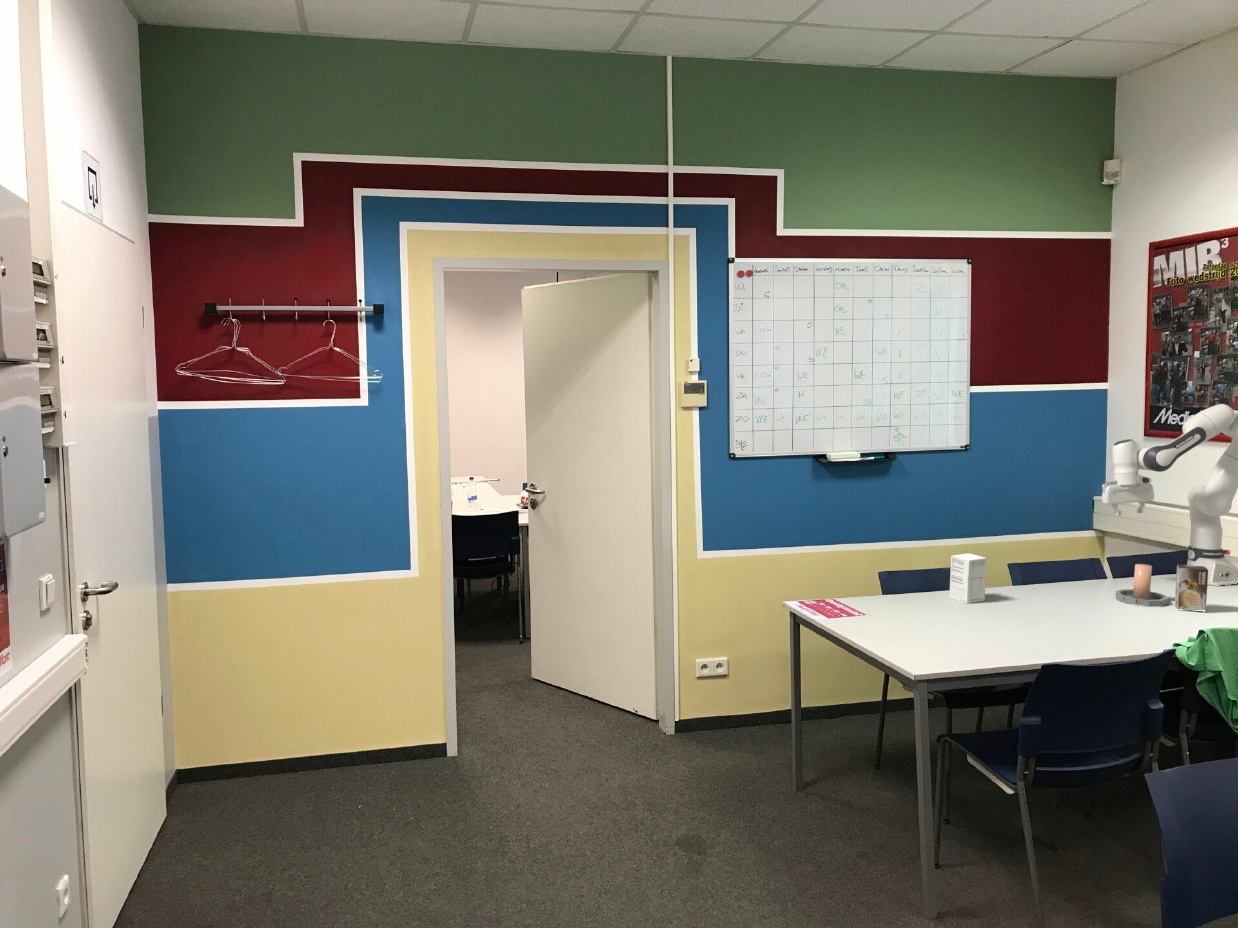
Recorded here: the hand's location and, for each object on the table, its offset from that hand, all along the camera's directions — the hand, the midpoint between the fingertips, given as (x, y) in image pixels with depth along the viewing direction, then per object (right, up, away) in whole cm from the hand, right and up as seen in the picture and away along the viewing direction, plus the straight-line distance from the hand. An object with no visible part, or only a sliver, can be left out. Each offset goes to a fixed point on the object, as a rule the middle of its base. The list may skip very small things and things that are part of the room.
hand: (1129, 514), depth 370 cm
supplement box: (-73, -32, -19) cm, 82 cm away
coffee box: (+5, -34, -32) cm, 47 cm away
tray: (-7, -32, -20) cm, 38 cm away
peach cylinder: (-6, -31, -20) cm, 38 cm away
